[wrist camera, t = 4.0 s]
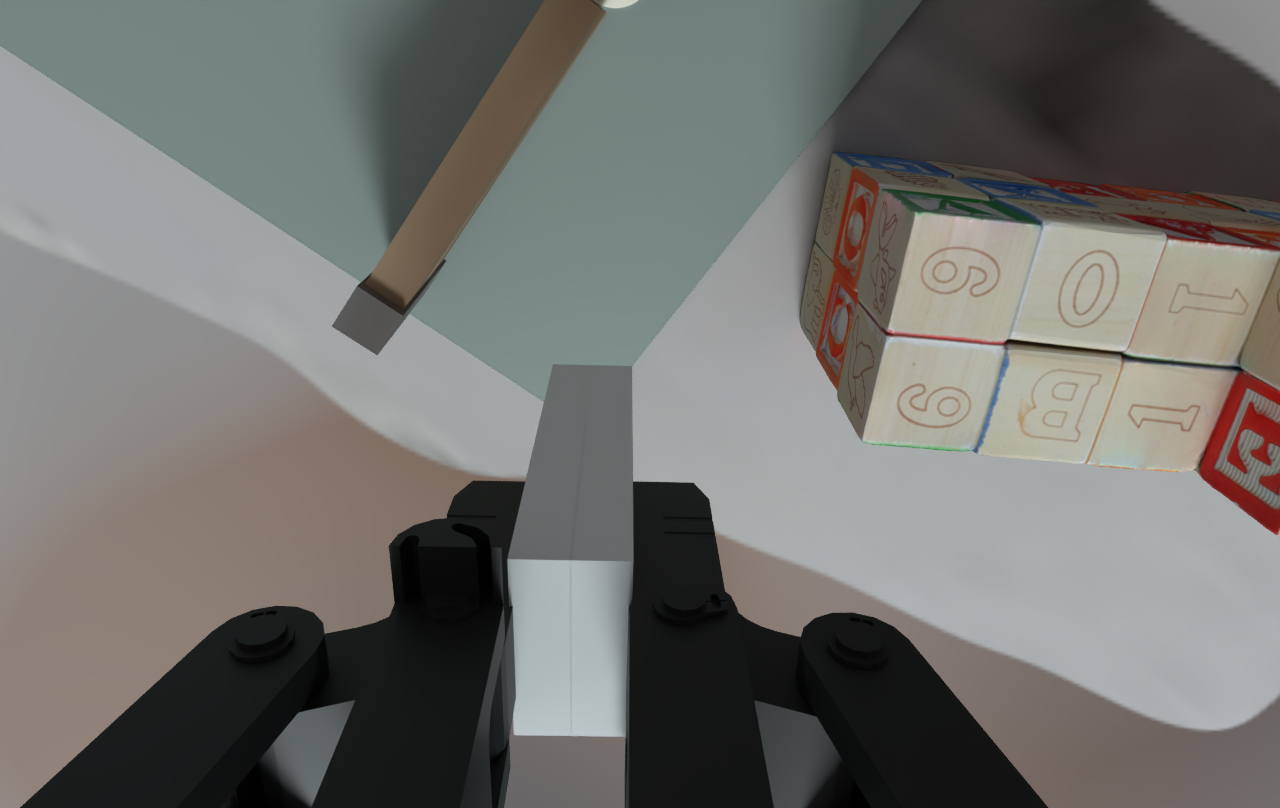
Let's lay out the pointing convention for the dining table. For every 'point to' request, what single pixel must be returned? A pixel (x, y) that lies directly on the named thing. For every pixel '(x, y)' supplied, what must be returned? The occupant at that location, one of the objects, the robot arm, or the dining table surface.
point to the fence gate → (469, 170)
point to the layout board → (437, 113)
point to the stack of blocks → (1052, 320)
